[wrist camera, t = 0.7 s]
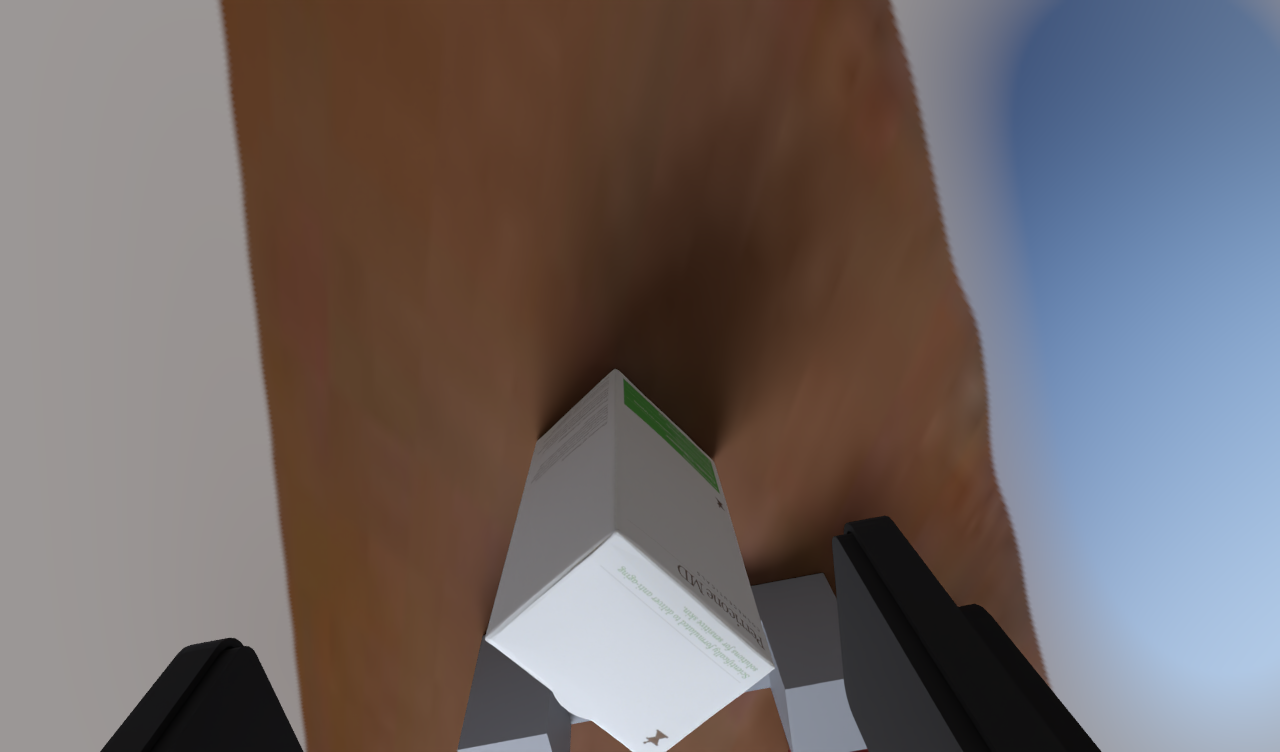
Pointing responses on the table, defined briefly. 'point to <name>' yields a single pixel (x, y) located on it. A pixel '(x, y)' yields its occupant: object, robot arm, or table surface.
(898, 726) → the robot arm
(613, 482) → the skincare box
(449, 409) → the table surface
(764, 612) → the u rest
